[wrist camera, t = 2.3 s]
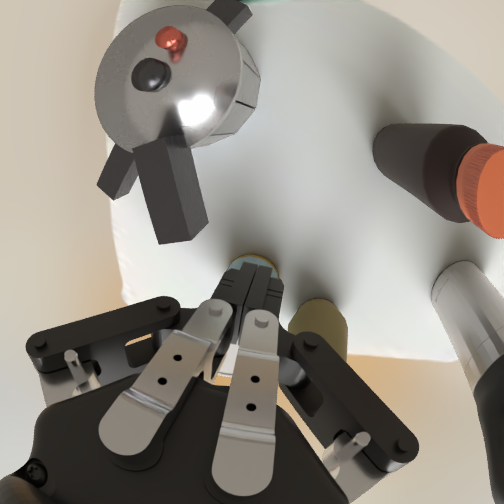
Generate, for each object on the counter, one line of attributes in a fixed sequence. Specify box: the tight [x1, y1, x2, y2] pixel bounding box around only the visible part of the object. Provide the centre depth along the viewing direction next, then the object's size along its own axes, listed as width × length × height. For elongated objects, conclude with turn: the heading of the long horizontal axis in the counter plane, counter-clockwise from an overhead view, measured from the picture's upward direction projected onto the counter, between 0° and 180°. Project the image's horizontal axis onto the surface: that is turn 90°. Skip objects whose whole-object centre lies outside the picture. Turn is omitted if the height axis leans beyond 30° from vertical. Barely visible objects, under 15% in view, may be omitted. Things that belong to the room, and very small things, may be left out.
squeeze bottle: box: [288, 299, 348, 362], centre depth 30 cm, size 8×8×18 cm
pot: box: [97, 0, 261, 200], centre depth 25 cm, size 24×14×9 cm, turn 142°
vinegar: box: [373, 124, 504, 239], centre depth 18 cm, size 7×7×20 cm
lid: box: [95, 5, 243, 245], centre depth 19 cm, size 21×15×5 cm
